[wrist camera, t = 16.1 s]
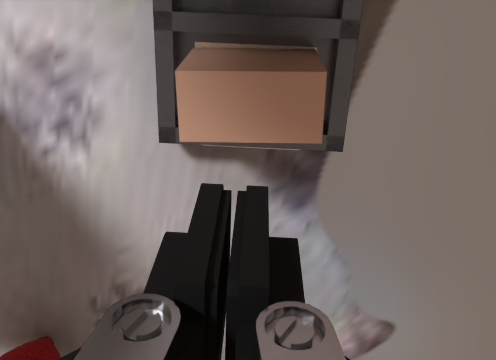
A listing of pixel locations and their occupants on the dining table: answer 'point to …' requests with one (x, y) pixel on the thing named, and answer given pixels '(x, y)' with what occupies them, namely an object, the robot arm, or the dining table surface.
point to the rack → (259, 36)
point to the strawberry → (34, 351)
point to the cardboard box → (251, 95)
